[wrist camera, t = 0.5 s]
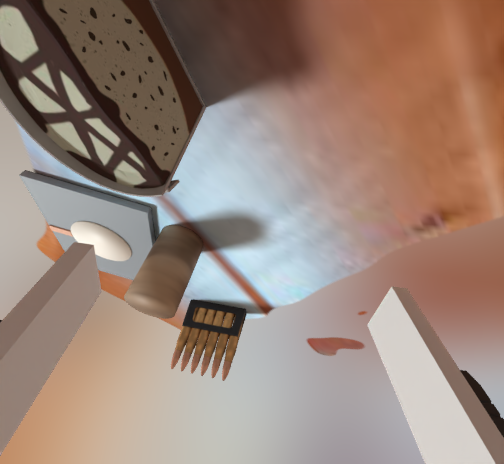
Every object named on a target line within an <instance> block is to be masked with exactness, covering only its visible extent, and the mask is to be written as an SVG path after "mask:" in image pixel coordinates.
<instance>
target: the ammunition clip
mask: <svg viewBox="0 0 504 464" xmlns="http://www.w3.org/2000/svg"><path fill="white" fill-rule="evenodd" d="M224 317H225V318H224ZM245 317H246V310H245V309H242V308H236V307H231V306H225V305H219V304H214V303H208V302H202V301H197V300H191V301H190V304H189V307H188V310H187V313H186V316H185V319H184V322H183V325H182V326H183V327H182V330H181V332H180V335H179V338H178V340H177V345H176V348H175V352H174V354H173V358H172V363H171V369H173V368H174V367H175V365H176V364H177V362H178V360H179V358H180V356H181V353H182V351H183V349H184V347H185V345H186V349H185V352H184V355H183V359H182V363H181V371H183V370H184V369H185V367H186V365H187V364H188V362H189V359H190V357H191V354H192V352H193V349H194V348H195V346H196V349H195V353H194V357H193V360H192V366H191V373H193V372H194V371H195V369H196V368H197V366H198V363H199V361H200V358H201V355H202V353H203V351H204V349H205V347H206V349H205V354H204V358H203V362H202V367H201V376H203V375H204V373H205V372H206V370H207V368H208V365H209V363H210V360H211V357H212V354H213V352H214V350H215V347H216V344H217V347H216V352H215V357H214V361H213V366H212V378H214V377H215V375H216V373H217V371H218V369H219V366H220V363H221V360H222V357H223V355H224V352H225V349H226V345H227V342H228V345H227V349H226V356H225V362H224V366H223V371H222V380H223V381H224V380H225V379H226V377H227V375H228V373H229V370H230V367H231V363H232V360H233V357H234V355H235V352H236V348H237V344H238V340H239V337H240V334H241V331H242V327H243V324H244V321H245ZM233 320H234V322H233ZM223 321H224V322H223ZM222 324H223V325H222ZM232 324H233V326H232ZM209 334H210V335H209ZM198 337H199V338H198ZM208 337H209V338H208ZM218 337H219V339H218ZM228 339H229V341H228ZM197 340H198V341H197ZM207 340H208V341H207ZM217 341H218V343H217ZM186 343H187V344H186ZM196 343H197V344H196Z"/></svg>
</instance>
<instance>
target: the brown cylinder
mask: <svg viewBox="0 0 504 464" xmlns="http://www.w3.org/2000/svg"><path fill="white" fill-rule="evenodd" d="M202 249H203V242H202V240H201V238H200V237H199V236H198V235H197V234H196V233H194V232H193V231H191V230H190V229H188V228H185V227H182V226H178V225H169V226H166V227H164V228H163V229H162V231H161V233H160V234H159V236H158V238H157V240H156V241H155V243H154V245H153V247H152V248H151V250H150V252H149V254H148V255H147V257H146V259H145V261H144V262H143V264H142V266H141V268H140V269H139V271H138V273H137V275H136V276H135V278H134V280H133V282H132V284H131V285H130V287H129V289H128V291H127V292H126V294H125V296H124V299H125V301H126V302H127V303H128V304H129V305H130V306H132V307H133V308H135V309H136V310H138V311H140V312H142V313H145V314H148V315H150V316H153V317H158V318H172V317H174V316H175V313H176V311H177V309H178V306H179V304H180V301H181V299H182V297H183V294H184V292H185V289H186V287H187V285H188V282H189V280H190V278H191V275H192V273H193V270H194V268H195V266H196V263H197V261H198V258H199V256H200V254H201V251H202Z"/></svg>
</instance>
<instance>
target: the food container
mask: <svg viewBox="0 0 504 464" xmlns="http://www.w3.org/2000/svg"><path fill="white" fill-rule="evenodd" d="M0 101H1V103H2V104H3V105H4V107H5V108H6V109H7V111H8V112H9V113H10V114H11V116H12V117H13V118H14V119H15V121H16V122H17V123H18V124H19V125H20V126H21V127H22V128H23V129H24V131H25V132H26V133H27V134H28V135H29V136H30V137H31V138H32V139H33V140H34V141H35V142H36V143H38V144H39V145H40V146H41V147H42V148H43V149H44V150H45V151H46V152H48V153H49V154H50V155H51V156H53V157H54V158H55V159H56V160H58V161H59V162H60V163H62V164H63V165H65V166H66V167H68V168H69V169H71V170H72V171H74V172H75V173H77V174H79V175H80V176H82V177H84V178H86V179H87V180H90V181H92V182H94V183H96V184H98V185H100V186H102V187H105V188H108V189H110V190H113V191H116V192H120V193H123V194H127V195H133V196H140V197H156V196H163V194H164V193H166V192H170V191H171V190H172V189H173V188H174V187H175V186H176V185H177V184H178V183H179V180H173V181H171V180H172V178H173V175H174V173H175V171H176V169H177V167H178V165H179V163H180V161H181V159H182V157H183V155H184V153H185V150H186V148H187V146H188V144H189V142H190V140H191V138H192V136H193V134H194V132H195V130H196V128H197V126H198V123H199V121H200V119H201V117H202V115H203V113H204V111H205V109H206V106H205V104H204V102H203V100H202V98H201V96H200V94H199V92H198V90H197V88H196V86H195V84H194V82H193V80H192V78H191V76H190V74H189V72H188V70H187V68H186V66H185V64H184V62H183V60H182V58H181V56H180V54H179V52H178V50H177V48H176V46H175V44H174V42H173V40H172V38H171V36H170V33H169V31H168V29H167V27H166V25H165V23H164V21H163V19H162V17H161V15H160V13H159V11H158V9H157V7H156V5H155V3H154V1H153V0H0Z"/></svg>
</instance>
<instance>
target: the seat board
mask: <svg viewBox="0 0 504 464" xmlns="http://www.w3.org/2000/svg"><path fill="white" fill-rule="evenodd" d="M19 176H20V177H21V179H22V181H23V182H24V184H25V185H26V187H27V189H28V191H29V192H30V194H31V196H32V197H33V199H34V200H35V202H36V204H37V206H38V207H39V209H40V211H41V212H42V214H43V216H44V217H45V219H46V221H47V223H48V224H49V227H50V228H51V230H52V231H53V233H54V234H55V236H56V238H57V239H58V241H59V243H60V244H61V246H62V248H63V249H64V251H65V252H66V251H67V249H68V248H69V247H70V246H71V245H72V244H73V243H74V242H77V243H85V244H92V245H94V249H95V255H96V262H97V268H98V270H100V271H103V272H107V273H110V274H114V275H117V276H121V277H124V278H127V279H131V280H134V278H135V276H136V275H137V273H138V271H139V269H140V268H141V266H142V264H143V262H144V261H145V259H146V257H147V255H148V254H149V252H150V250H151V248H152V247H153V245H154V243H155V234H154V227H153V219H152V212H151V207H148V206H145V205H141V204H138V203H135V202H131V201H128V200H124V199H121V198H118V197H114V196H111V195H108V194H104V193H101V192H97V191H94V190H91V189H87V188H84V187H81V186H77V185H74V184H70V183H67V182H64V181H60V180H57V179H54V178H50V177H47V176H43V175H40V174H37V173H33V172H30V171H26V170H25V171H24V172H22V173H21V174H20V175H19Z"/></svg>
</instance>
